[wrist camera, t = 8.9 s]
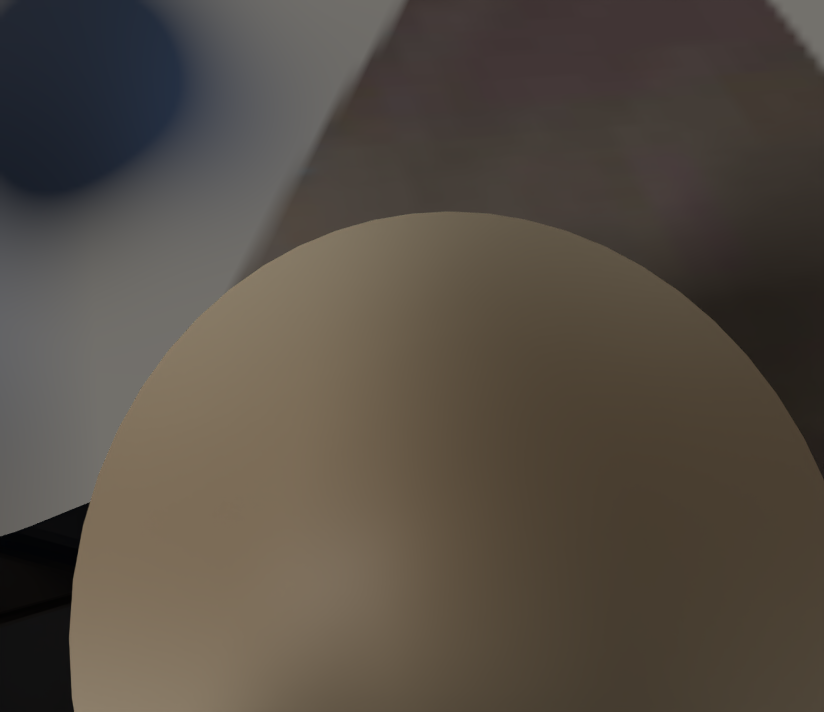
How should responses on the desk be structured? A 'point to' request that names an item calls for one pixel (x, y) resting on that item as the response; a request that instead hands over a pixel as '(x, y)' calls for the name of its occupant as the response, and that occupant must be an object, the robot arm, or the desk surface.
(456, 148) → the desk surface
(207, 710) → the wooden peg
